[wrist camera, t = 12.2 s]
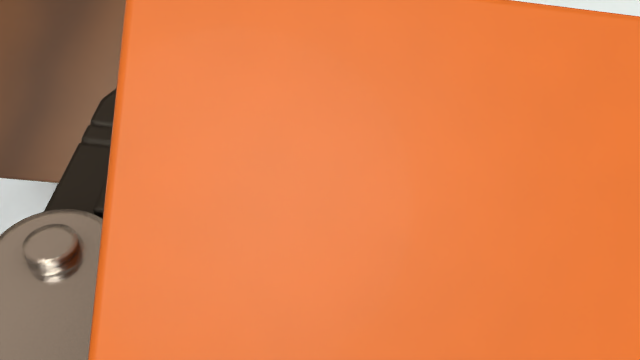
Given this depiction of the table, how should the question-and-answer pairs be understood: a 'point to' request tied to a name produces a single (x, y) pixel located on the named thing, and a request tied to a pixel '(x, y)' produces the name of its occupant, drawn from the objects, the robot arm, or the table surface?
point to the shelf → (53, 79)
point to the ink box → (372, 183)
